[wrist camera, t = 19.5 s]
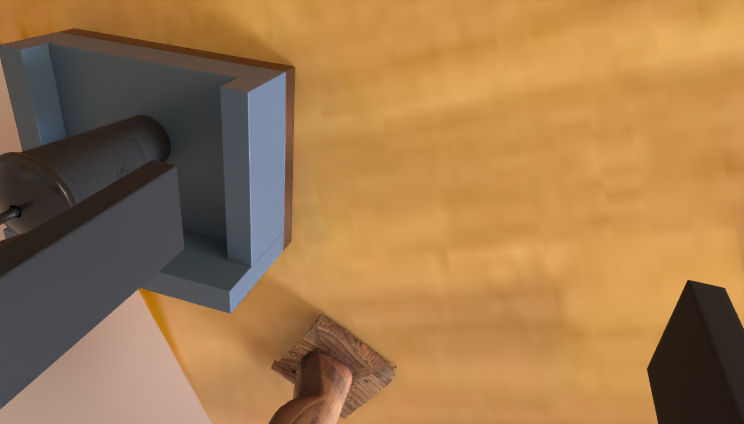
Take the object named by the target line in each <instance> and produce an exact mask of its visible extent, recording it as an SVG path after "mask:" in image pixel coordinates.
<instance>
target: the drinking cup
mask: <svg viewBox="0 0 744 424" xmlns="http://www.w3.org/2000/svg"><path fill="white" fill-rule="evenodd" d="M170 151H171V144H170V139H169V137H168V134H167V132H166V131H165V129H164V128H163V127H162V126H161V125H160V124H159V123H158V122H157V121H156V120H154V119H153V118H150V117H148V116H144V115H138V116H134V117H131V118H128V119H125V120H122V121H118V122H115V123H112V124H109V125H106V126H103V127H99V128H96V129H93V130H90V131H87V132H83V133H80V134H77V135H74V136H71V137H68V138H64V139H61V140H58V141H55V142H52V143H48V144H45V145H42V146H39V147H36V148H33V149H29V150H26V151H23V152H20V153H19V152H9V153H4V154H2V155H0V225H1V224H3V223H4V224H5V225H6V226H7V227H8V228H9V229H10V230H11V231H12V232H13V233H14V234H16V235H19V234H22V233H25V232H29V231H31V230H33V229H34V228H36V227H38V226H40V225H41V224H43V223H45V222H46V221H48V220H50V219H52V218H53V217H55V216H57V215H58V214H60V213H62V212H64V211H65V210H67V209H69V208H70V207H72V206H74V205H76V204H77V203H79V202H81V201H82V200H84V199H86V198H88V197H89V196H91V195H93V194H94V193H96V192H98V191H100V190H101V189H103V188H105V187H107V186H108V185H110V184H112V183H113V182H115V181H117V180H119V179H120V178H122V177H124V176H125V175H127V174H129V173H131V172H132V171H134V170H136V169H137V168H139V167H141V166H143V165H144V164H146V163H148V162H149V161H151V160H156V161H161V162H165V161H166V160H167V158H168V157H169V155H170Z"/></svg>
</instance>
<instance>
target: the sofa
mask: <svg viewBox="0 0 744 424" xmlns="http://www.w3.org/2000/svg"><path fill="white" fill-rule="evenodd" d="M0 58H1V63H2V67H3V71H4V75H5V79H6V84H7V88H8V92H9V96H10V100H11V104H12V109H13V112H14V117H15V121H16V125H17V130H18V134H19V138H20V142H21V146H22V151H26V150H29V149H33V148H36V147H39V146H42V145H45V144H48V143H52V142H55V141H58V140H61V139H64V138H68V137H71V136H74V135H77V134H80V133H83V132H87V131H90V130H93V129H96V128H99V127H103V126H106V125H109V124H112V123H115V122H118V121H122V120H125V119H128V118H131V117H134V116H138V115H144V116H148V117H150V118H153V119H154V120H156V121H157V122H158V123H159V124H160V125H161V126H162V127H163V128H164V129H165V131H166V132H167V134H168V137H169V139H170V144H171V151H170V155H169V157H168V158H167V160H166V161H165V163H170V164H174V165H177V174H178V184H179V195H180V206H181V217H182V228H183V239H184V249H183V250H182V251H181V252H180V253H179V254H178V255H177V256H175V257H174V258H173V259H172V260H171V261H170V262H169V263H167V264H166V265H165V266H164V267H163V268H162V269H161V270H159V271H158V272H157V273H156V274H155V275H154V276H153V277H151V278H150V279H149V280H148V281H147V282H146V283H145V284H143V285H142V286H141V287H140V288H142V289H145V290H149V291H152V292H156V293H159V294H163V295H167V296H170V297H174V298H177V299H181V300H184V301H188V302H191V303H195V304H199V305H202V306H206V307H209V308H213V309H216V310H220V311H223V312H227V313H232V312H233V310H234V309H235V308H236V307H237V306H238V304H239V303H240V302H241V301H242V300H243V298H244V297H245V296H246V295H247V294H248V292H249V291H250V290H251V289H252V288H253V286H254V285H255V284H256V283H257V282H258V280H259V279H260V278H261V277H262V276H263V274H264V273H265V272H266V271H267V270H268V268H269V267H270V266H271V265H272V264H273V262H274V261H275V260H276V259H277V258H278V256H279V255H280V254H281V253H282V252H283V251H284V249H285V248H286V247H287V246H288V245H289V243H290V242H291V225H292V179H293V133H294V86H295V67H294V66H288V65H282V64H276V63H270V62H265V61H259V60H253V59H247V58H242V57H236V56H230V55H224V54H218V53H213V52H207V51H201V50H195V49H190V48H184V47H178V46H172V45H166V44H161V43H155V42H149V41H143V40H138V39H132V38H126V37H120V36H114V35H109V34H103V33H97V32H91V31H86V30H80V29H70V30H66V31H61V32H57V33H52V34H47V35H43V36H38V37H33V38H29V39H24V40H20V41H15V42H10V43H6V44H1V45H0ZM3 231H4V234H5V238H6V239H7V238H10V237H13V236H16V234H14V233H13V232H12V231H11V230H10V229H9V228H8V227H7V228H6V229H4V230H3Z"/></svg>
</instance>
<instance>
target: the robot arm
mask: <svg viewBox="0 0 744 424" xmlns="http://www.w3.org/2000/svg"><path fill="white" fill-rule="evenodd" d="M183 249H184V239H183V228H182V217H181V206H180V195H179V184H178V174H177V165H174V164H170V163H165V162H161V161H156V160H151V161H149V162H148V163H146V164H144V165H143V166H141V167H139V168H137V169H136V170H134V171H132V172H131V173H129V174H127V175H125V176H124V177H122V178H120V179H119V180H117V181H115V182H113V183H112V184H110V185H108V186H107V187H105V188H103V189H101V190H100V191H98V192H96V193H94V194H93V195H91V196H89V197H88V198H86V199H84V200H82V201H81V202H79V203H77V204H76V205H74V206H72V207H70V208H69V209H67V210H65V211H64V212H62V213H60V214H58V215H57V216H55V217H53V218H52V219H50V220H48V221H46V222H45V223H43V224H41V225H40V226H38V227H36V228H34V229H33V230H31V231H29V232H25V233H22V234H19V235H16V236H13V237H10V238H7V239H4V240H2V241H0V409H1V408H2V407H4V406H5V405H6V404H7V403H8V402H9V401H10V400H12V399H13V398H14V397H15V396H16V395H17V394H18V393H20V392H21V391H22V390H23V389H24V388H25V387H26V386H28V385H29V384H30V383H31V382H32V381H33V380H34V379H36V378H37V377H38V376H39V375H40V374H41V373H43V371H45V370H46V369H47V368H48V367H49V366H51V365H52V364H53V363H54V362H55V361H56V360H57V359H59V358H60V357H61V356H62V355H63V354H64V353H65V352H67V351H68V350H69V349H70V348H71V347H72V346H73V345H74V344H76V343H77V342H78V341H79V340H80V339H81V338H83V337H84V336H85V335H86V334H87V333H88V332H89V331H91V330H92V329H93V328H94V327H95V326H96V325H97V324H99V323H100V322H101V321H102V320H103V319H104V318H105V317H107V316H108V315H109V314H110V313H111V312H112V311H114V310H115V309H116V308H117V307H118V306H119V305H120V304H121V303H123V302H124V301H125V300H126V299H127V298H128V297H130V296H131V295H132V294H133V293H134V292H135V291H136V290H138V289H139V288H140V287H141V286H142V285H143V284H145V283H146V282H147V281H148V280H149V279H150V278H151V277H153V276H154V275H155V274H156V273H157V272H158V271H159V270H161V269H162V268H163V267H164V266H165V265H166V264H167V263H169V262H170V261H171V260H172V259H173V258H174V257H175V256H177V255H178V254H179V253H180V252H181V251H182V250H183ZM647 371H648V376H649V381H650V386H651V391H652V395H653V400H654V405H655V410H656V415H657V420H658V424H744V328H743V326H742V324H741V322H740V320H739V318H738V315H737V313H736V311H735V309H734V307H733V305H732V303H731V300H730V298H729V296H728V294H727V292H726V290H725V288H722V287H718V286H713V285H709V284H704V283H700V282H695V281H691V280H688V281H687V283H686V285H685V287H684V289H683V292H682V294H681V296H680V298H679V300H678V302H677V305H676V307H675V309H674V311H673V313H672V315H671V318H670V320H669V322H668V324H667V326H666V329H665V331H664V333H663V335H662V337H661V339H660V342H659V344H658V346H657V348H656V350H655V352H654V355H653V357H652V359H651V361H650V363H649V365H648V368H647Z"/></svg>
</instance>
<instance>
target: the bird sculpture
mask: <svg viewBox="0 0 744 424" xmlns="http://www.w3.org/2000/svg"><path fill="white" fill-rule="evenodd" d="M326 319H327V317H326V316H325V315H324V314H322V315H321V316H319V318H318V320H317V321H316V322H315V324H314V325H313V326H312V327H311V329H310V330H309V331H308V332H307V333H306V334H305V335H304V336H303V338H301V339H300V340H299V341H298V342H297V343H296V344H295V345H294V346H293V347H292V349H291V350H292V351H291V350H289V353H290V357H289V358H291V359H289V358H288V357H287V358H285V357H286V356H284V357H283V358H282V359H280V360H279V361H278V362H277V361H276V360H275V361H274V362H273V364H272V367H271V368H272V369H273V370H275V371H276V372H278V373H279V374H280V375H282V376H283V377H284V378H286V379H288V380H289V381H290V382H292V383H293V384H294V385H295V387H294V396H293V400H291V401H289V402H287V403H286V404H285V405H283V406H282V407H280V408H279V409H278V411H277V412H276V413H275V414H274V416H273V417H272V419H271V421H270V422H269V424H336V423H337V420H338V418H339V416H340V417H341V418H343V419H345V418H346V417H347V416H348V415H350V414H352V413H353V411H354V410H356V409H358V407H360V406H362V405H363V404H364V403H366V402H367V401H368V400H369V399H371V398H372V396H373V395H376V394H377V393H378V392H379V391H381V390H382V389H383V388H385V387H386V386H388V385H389V384H390V382H391V381H392V379H393V378H394V376H395V373H394V371H395V368H396V366H395V367H390V364H389V362H386V360H383V358H382V357H379V354H378V353H376V352H375V353H373V352H372V350H369V349H368V348H369V347H368V346H367V347H366V345H365V344H363V345H362V344H361V343H360V342H361V341H359V340H358V339H357V338H355V337H354V336H352V335H351V334H350V333H348V332H347V331H346V330H345V329H344V328H342V329H341V327H339V325H337V324H336V323H333V322H332V321H331V320H330V319H329V320H328V321H327V320H326ZM330 321H331V323H329V322H330ZM347 334H348V335H347ZM349 334H350V335H349ZM355 340H357V342H355ZM360 344H361V345H360ZM296 346H298V348H297V349H295V348H296ZM297 350H298V351H299V352H293V351H297ZM317 350H319V351H321V352H318V351H317ZM325 352H327V353H328V354H327V353H325ZM292 353H295V355H292ZM299 353H300V354H299ZM294 356H295V357H296V359H294ZM333 356H334V357H333ZM297 358H298V359H299V360H298V359H297ZM300 360H301V361H300ZM295 362H297V363H295ZM342 362H345V364H346V365H347V366H346V365H345V364H343V363H342ZM292 367H293V368H292ZM350 369H352V370H353V372H350ZM296 371H297V373H296ZM354 375H355V376H354ZM353 376H354V377H353ZM365 380H366V381H365ZM357 381H358V382H357ZM372 381H373V382H372ZM360 382H361V383H360ZM351 383H352V384H351ZM357 383H358V384H357ZM352 385H354V388H355V390H354V388H352ZM374 387H376V388H374ZM349 390H350V391H349ZM352 390H353V391H352ZM375 390H376V391H375ZM377 390H379V391H377ZM372 394H373V395H372ZM349 395H352V396H349ZM347 399H350V400H347ZM352 401H353V402H352Z"/></svg>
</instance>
